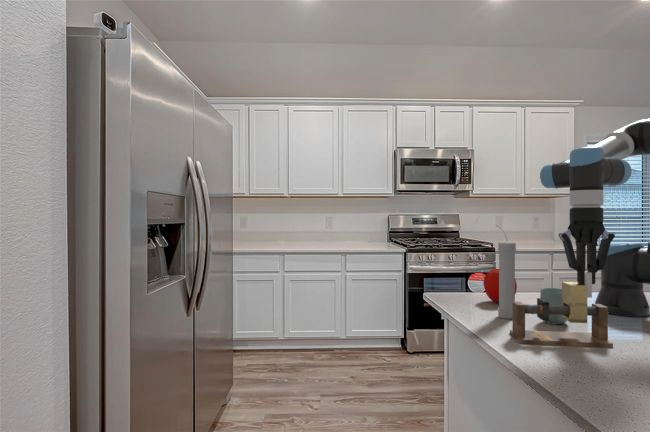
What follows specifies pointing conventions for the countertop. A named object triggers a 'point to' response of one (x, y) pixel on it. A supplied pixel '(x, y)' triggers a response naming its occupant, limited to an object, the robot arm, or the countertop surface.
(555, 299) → the cup
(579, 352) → the countertop surface
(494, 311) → the countertop surface
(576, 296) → the sleeve
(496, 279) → the tomato
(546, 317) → the dark grey square ring
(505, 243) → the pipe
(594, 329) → the rail
